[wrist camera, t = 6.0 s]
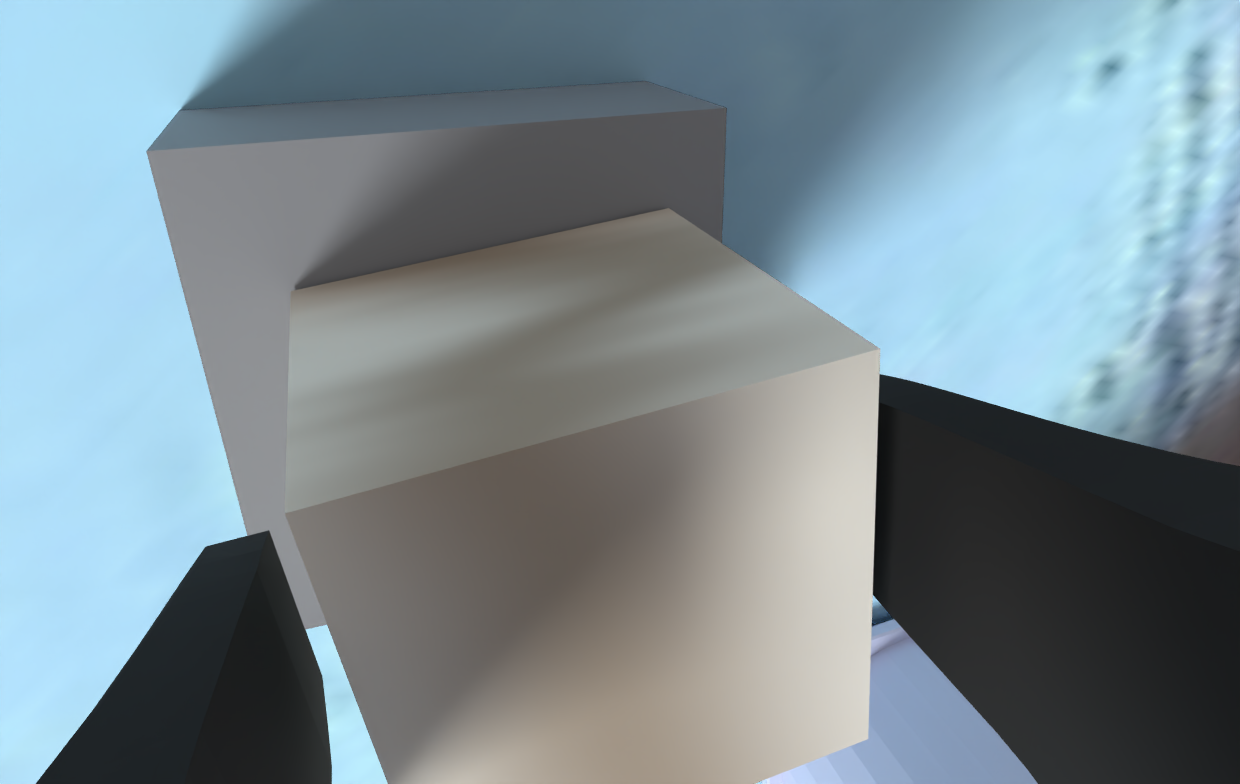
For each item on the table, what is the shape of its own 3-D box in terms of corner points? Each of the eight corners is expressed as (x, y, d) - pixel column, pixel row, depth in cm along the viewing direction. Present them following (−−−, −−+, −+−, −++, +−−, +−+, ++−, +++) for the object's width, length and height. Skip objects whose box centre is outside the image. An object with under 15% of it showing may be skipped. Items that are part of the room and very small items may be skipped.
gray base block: (637, 78, 14) (726, 108, 11) (641, 440, 18) (710, 538, 15) (182, 106, 12) (146, 151, 9) (278, 508, 16) (273, 636, 13)
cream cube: (668, 208, 12) (880, 349, 7) (696, 504, 14) (868, 738, 10) (290, 291, 11) (285, 513, 6) (391, 597, 13) (435, 909, 9)
